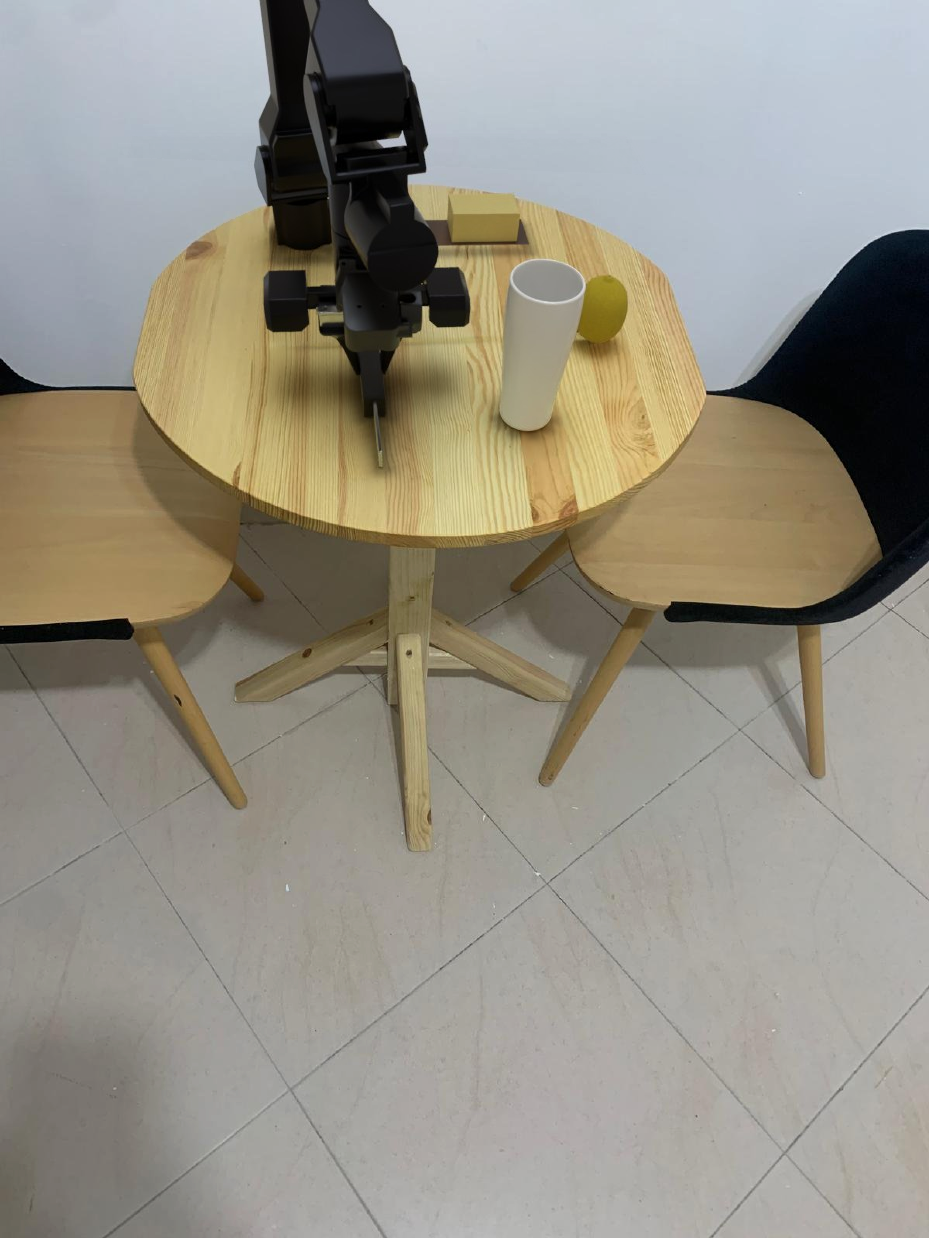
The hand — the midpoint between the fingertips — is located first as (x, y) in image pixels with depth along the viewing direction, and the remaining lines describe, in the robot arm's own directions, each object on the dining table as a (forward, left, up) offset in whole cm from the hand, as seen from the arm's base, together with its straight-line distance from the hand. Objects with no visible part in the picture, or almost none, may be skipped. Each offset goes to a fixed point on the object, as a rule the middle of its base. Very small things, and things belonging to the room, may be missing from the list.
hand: (370, 372), depth 79 cm
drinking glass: (+15, -6, -1) cm, 16 cm away
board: (+13, +25, -1) cm, 29 cm away
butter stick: (+15, +25, 0) cm, 30 cm away
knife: (0, -5, -1) cm, 5 cm away
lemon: (+25, +5, -1) cm, 26 cm away
